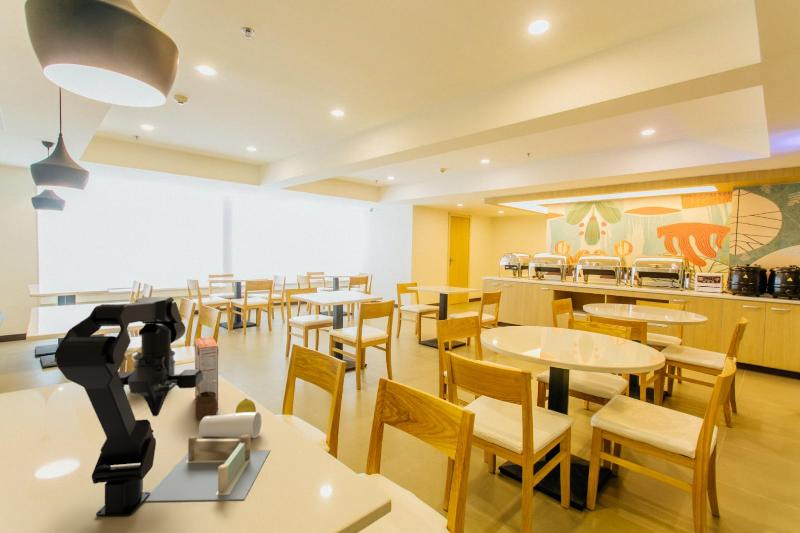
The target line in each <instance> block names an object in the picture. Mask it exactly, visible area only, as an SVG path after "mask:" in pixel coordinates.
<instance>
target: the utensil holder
mask: <svg viewBox="0 0 800 533" xmlns="http://www.w3.org/2000/svg"><path fill="white" fill-rule="evenodd" d="M211 381H212V380H211ZM211 381H210V382H211ZM215 381H216V380H215ZM212 382H213V381H212ZM216 383H217V382H216ZM213 385H214V384H213ZM216 385H217V384H216ZM211 386H212V385H211ZM208 388H209V387H208ZM196 389H197V391H198V393H199V394H198V395H197V401H195V406H194V407H195V409H194V411H195V412H194V413H195V414H194V415H195V420H197V421H201V420H202V418H203V417H205V416H214V415H217V414H218V409H217V400H216V398H215V397H216V394H215V392H212V391H208V392H202V393H200V388H199V385H197V386H196ZM213 391H214V390H213Z"/></svg>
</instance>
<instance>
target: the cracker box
mask: <svg viewBox="0 0 800 533" xmlns="http://www.w3.org/2000/svg"><path fill="white" fill-rule="evenodd" d="M194 369H200V370H201V371H202V373H203V380H202V381H201V382H200V383H199V384H198V385H199V388H200V393H202V392H208V391H212V392H215V394H216V397H215V398H216V400H217V410H218V409H219V346H218V343H217V341H216V340H215V338H214V337H212V336H211V337H201V338H200V337H198V338H195V339H194ZM211 380H212V381H213V382H212V381H211ZM215 380H216V381H215ZM210 381H211V382H210ZM216 382H217V383H216ZM213 384H214V385H213ZM216 384H217V385H216ZM211 385H212V386H211ZM208 387H209V388H208ZM194 389H195V390H194V396H195V400H196V401H197V395H198V394H199V393H198V391H197V389H196V387H194ZM213 390H214V391H213ZM196 401H195V402H196Z"/></svg>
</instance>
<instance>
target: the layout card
mask: <svg viewBox="0 0 800 533" xmlns="http://www.w3.org/2000/svg"><path fill="white" fill-rule="evenodd" d="M270 452H271V449H255V450H254V449H250V459H249V460H247V461H245V462H244V463H243V465H242V466H241V468H240V469H239V471H238V472H237V474H236V475H235V477H234V478H233V480H232V481H231V482H230V484H229V485H228V487H227V490H226V491H225V492H222V493H220V492H218V467H219V466H220V465H224V463H225V462H226V461H227V460H203V461H188V453H186V454H185V455H184V457H183V458H182V459H180V461H179V462H178V463H177V464H176V465H175V466H174V467H173V469H171V470H170V472H168V474H167V475H165V477H164V478H162V480H161V481H160V482H159V484H157V485H156V487H155V488H154V489H153V490H152V491H150V495H149V496H148V497H147V499H146V500H145V501H144V502H143V503H148V502H150V503H151V502H152V503H153V502H154V503H155V502H156V503H157V502H199V501H200V502H204V501H207V502H208V501H213V502H214V501H215V502H216V501H245V499H246V497H247V495H248V493H249V492H250V490H251V488H252V486H253V484H254V482H255V480H256V478H257V476H258V474H259V473H260V471H261V469H262V467H263V465H264V463H265V461H266V459H267V458H268V455H269V454H270Z"/></svg>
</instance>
